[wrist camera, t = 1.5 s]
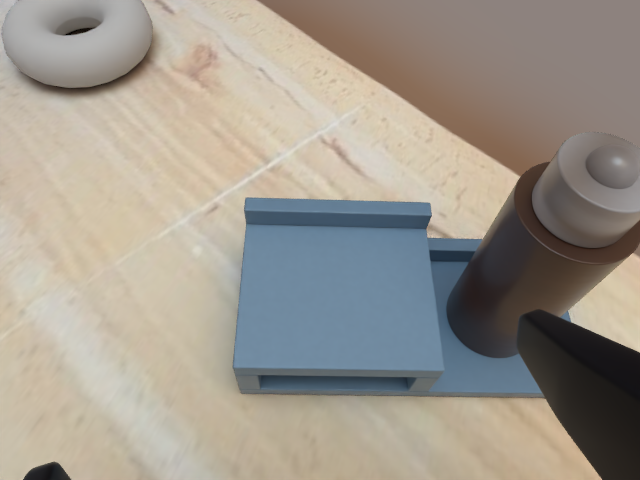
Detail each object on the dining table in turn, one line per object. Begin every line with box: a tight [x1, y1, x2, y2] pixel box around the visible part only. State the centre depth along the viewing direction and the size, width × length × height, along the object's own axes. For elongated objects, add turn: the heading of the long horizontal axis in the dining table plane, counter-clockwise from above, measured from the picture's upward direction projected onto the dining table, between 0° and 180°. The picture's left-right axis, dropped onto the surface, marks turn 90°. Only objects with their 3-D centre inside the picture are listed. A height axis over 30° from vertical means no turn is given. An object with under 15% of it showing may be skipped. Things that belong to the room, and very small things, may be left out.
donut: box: [2, 0, 153, 88], centre depth 36 cm, size 10×3×10 cm
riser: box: [233, 198, 571, 398], centre depth 25 cm, size 8×17×5 cm, turn 90°
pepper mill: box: [446, 132, 640, 358], centre depth 21 cm, size 5×5×13 cm
